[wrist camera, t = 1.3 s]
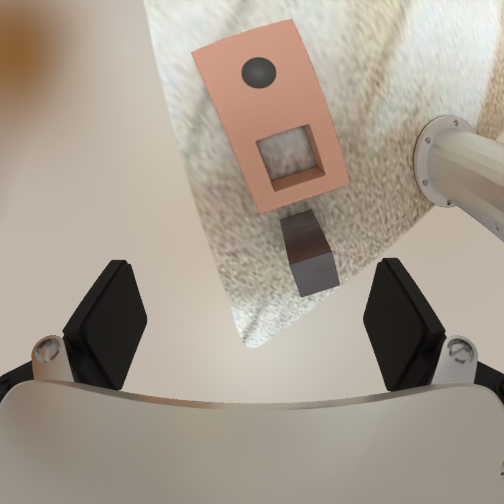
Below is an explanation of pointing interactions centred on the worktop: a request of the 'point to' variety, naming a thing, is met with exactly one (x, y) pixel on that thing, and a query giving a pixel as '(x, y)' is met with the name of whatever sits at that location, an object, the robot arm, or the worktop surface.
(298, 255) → the square peg
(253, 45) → the bore block
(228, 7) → the worktop surface
